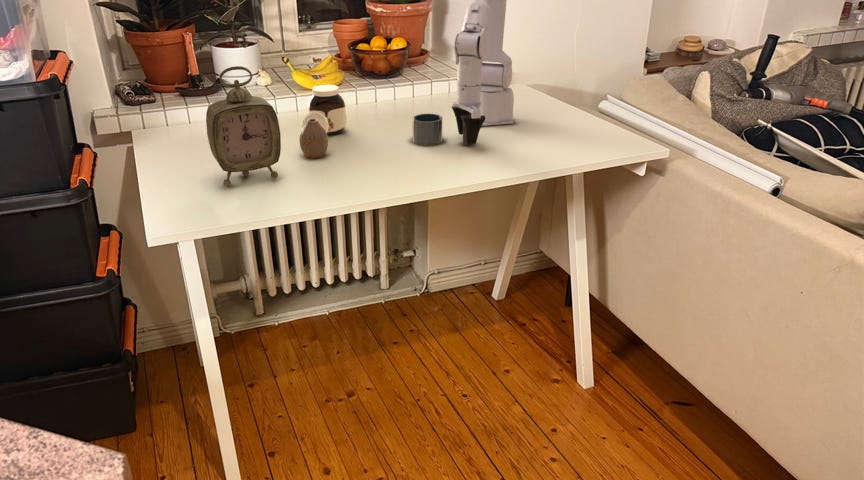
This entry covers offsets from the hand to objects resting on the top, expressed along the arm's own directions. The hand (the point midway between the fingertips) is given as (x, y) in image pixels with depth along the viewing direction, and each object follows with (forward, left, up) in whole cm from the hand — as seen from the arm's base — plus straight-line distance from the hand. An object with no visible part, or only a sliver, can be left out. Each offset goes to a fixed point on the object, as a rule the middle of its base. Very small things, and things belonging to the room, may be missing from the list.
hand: (467, 138), depth 174 cm
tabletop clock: (+54, +11, -2) cm, 55 cm away
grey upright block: (0, 0, -2) cm, 2 cm away
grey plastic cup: (+9, -5, -2) cm, 10 cm away
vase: (+38, -1, -2) cm, 38 cm away
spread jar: (+34, -17, -2) cm, 38 cm away
